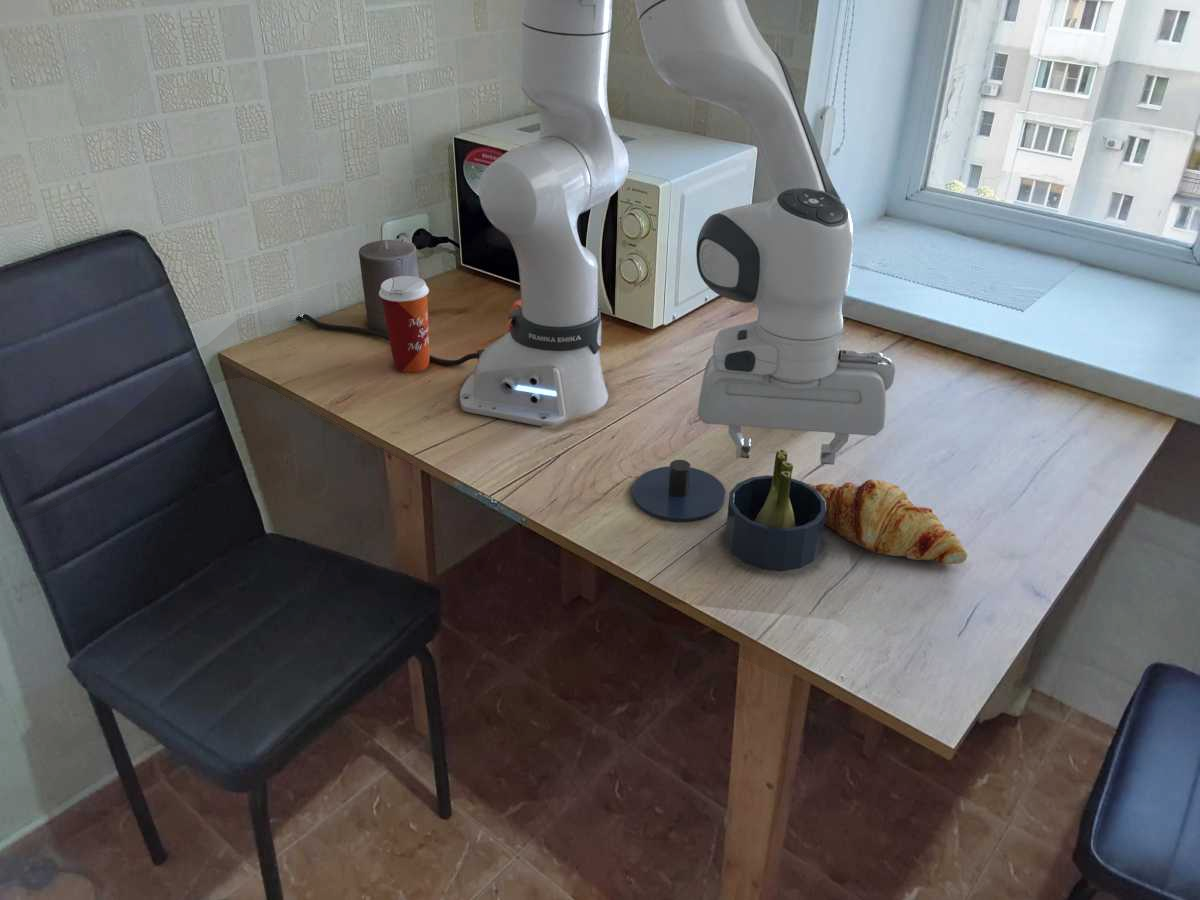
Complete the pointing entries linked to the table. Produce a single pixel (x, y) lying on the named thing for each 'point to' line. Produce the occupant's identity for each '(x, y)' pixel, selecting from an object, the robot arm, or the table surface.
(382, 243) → the pillar candle
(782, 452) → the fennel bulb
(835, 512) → the croissant
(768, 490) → the pot
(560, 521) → the table surface
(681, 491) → the lid
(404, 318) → the paper cup
